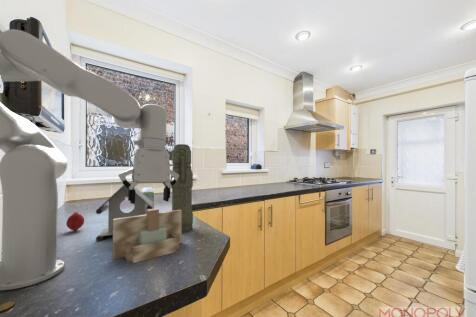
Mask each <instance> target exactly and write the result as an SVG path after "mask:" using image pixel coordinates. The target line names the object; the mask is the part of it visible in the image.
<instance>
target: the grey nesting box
mask: <svg viewBox="0 0 476 317" xmlns="http://www.w3.org/2000/svg"><path fill="white" fill-rule="evenodd" d="M128 182H129V183H131V182H130V181H128ZM134 190H135V203H134V204H133V205H134V207H133V209H132V210H131V211H129V212H124V211H122V209H121V204H122V203H123V202H124V201H125V200H126V197H127V198H128V191H129V189H128V188H127V187H126V186H125V185H124V184H122V186H121V187H120V188H119V189H118V190H116V191H115V192H114V193H113V194H112V195H111V196H110V197H109V198H107V200H106V201H105V202H103V204H102V205H100V206H99V207H98V208H97V209H96V210H95V214H96V215H101V214H102V213H103V212H105V211H106V210H108V218H107V219H108V222H107V223H108V224H107V225H108V228H104V229H103V230H101V232H100V233H99V234H98V235H97V236H96V237H95V241H96V242H100V241H102V240H103V238H105V236H106V237H107V236H113V219H116V218H123V217H131V216H138V215H145V201H146V202H147V203H148V206H147V209H152V206H153V202H152V201H151V200H150V199H149V198H147V197H146V196H145V195H144V194H143V193H142V191H141V190H140V189H138V187H137V186H135V187H134ZM107 203H108V204H107Z"/></svg>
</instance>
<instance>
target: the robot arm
mask: <svg viewBox="0 0 476 317" xmlns="http://www.w3.org/2000/svg"><path fill="white" fill-rule="evenodd" d="M0 75H1V79H2V82H3V83H4V82H37V81H38V82H39V81H41V82H42V83H45V84H46V85H48V86H49V87H51V88H53V89H55V90H56V91H58V92H59V93H61V94H63V95H65V96H68V97H75V98H79V99H81V100H84V101H86V102H88V103H89V104H91V105H93V106H94V107H96V108H98V109H100V110H102V111H103V112H104V113H106V114H108V115H109V116H111V118H112V121H113V122H114V124H115V125H117V126H118V127H119V128H124V129H139V139H136V140H133V145H134V146H137V149H136V150H135V154H134V158H133V164H132V165H133V166H132V168H129V169H127V170H125V171H122V172H120V173H119V174H118V178H119V180H120V182H121V183H122V185H125V186H126V187H127V188H128V189H129V191H128V197H127V200H128V202H129V203H130V204H131V205H134V203H135V190H134V187H137V185H138V184H163V185H164V188H163V195H162V198H163V199H162V200H163V201H164V202H169V201H170V200H169V199H170V198H171V190H172V186H173V185H174V184H175V183H176V181H177V179H178V177H179V174H177V173H175V172H174V171H172V169H171V163H170V155H169V151H168V150H166V143H167V142H166V141H167V124H168V123H167V121H168V119H167V118H168V116H167V115H168V111H167V109H166V108H165V107H164V106H163V105H159V104H153V103H146V104H144V105H142V106H141V105H140V103H139V101H138V100H137V99H136V98H135V97H134V95H132V94H130V93H129V92H127V91H126V90H124V89H123V88H122V87H120V86H118V85H117V84H116V83H114V82H112V81H111V80H110V79H107V78H106V77H104V76H101V75H99V74H97V73H95V72H92V71H91V70H87V69H85V68H84V67H82V66H80V65H79V64H77V63H76V62H74V61H73V60H71V59H70V58H68V57H66V56H64V55H63V54H62V53H61V52H59V51H58V50H56V49H54V48H52V47H51V46H50V45H48V44H47V43H45V42H44V41H42V40H41V39H39V38H38V37H36V36H34V35H32V34H30V33H29V32H26V31H24V30H20V29H14V28H13V29H12V28H11V29H6V30H4V31H2V32H1V33H0ZM2 82H1V83H2ZM0 150H1V151H3V152H4V153H5V154H3V155H2V157H1V160H0V184H1V192H2V193H1V194H2V222H1V223H2V230H1V255H0V256H1V258H0V291H9V290H16V289H22V288H26V287H29V286H33V285H36V284H39V283H42V282H44V281H47V280H48V279H51V278H53V277H55V276H57V275H58V274H60V273H61V272H62V271H63V270H64V269H65V261H64V260H62V259H57V258H58V219H59V217H58V216H59V215H58V214H59V213H58V211H59V204H58V202H59V199H58V197H59V196H58V195H59V194H58V193H59V192H58V184H57V179H59V178H60V177H62V176H63V175H64V174H65V173H66V170H67V169H68V161H67V158H66V156H65V155H64V154H63V153H62V151H61V150H60V149H59V148H57V146H56V145H55V144H54V143H53V142H52V140H50V139H49V138H48V137H47V136H46V135H45V134H44V133H43V132H42V131H41V130H40V128H38V126H37V125H35V124H34V123H33V122H31V121H30V120H29V119H28V118H25V117H23V116H21V115H19V114H17V113H15V112H13V111H11V110H10V109H9V108H8V107H6V106H5V105H4V104H3V103H2V102H1V101H0ZM129 175H131V182H130V181H128V180H127V178H126V177H127V176H129ZM171 175H172V176H173V179H172V180H171ZM129 182H130V183H129Z"/></svg>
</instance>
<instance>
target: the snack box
mask: <svg viewBox="0 0 476 317" xmlns="http://www.w3.org/2000/svg"><path fill="white" fill-rule="evenodd" d="M141 192H142V193H143V194H144V195H145V196H146V197H147V198H149V199H150V200H151V201H152V202H153V206H152V209H155V199H154V198H155V195H154V187H152V186H148V187H147V186H146V187H142V189H141ZM147 206H148V203H147V202H146V201H145V214H146V210H147Z"/></svg>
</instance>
